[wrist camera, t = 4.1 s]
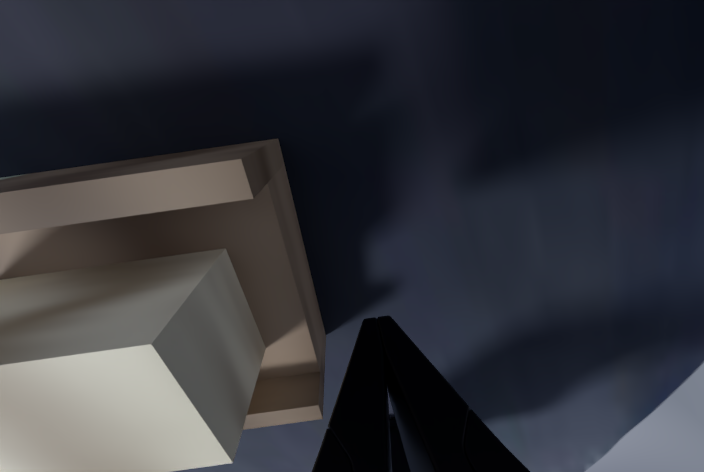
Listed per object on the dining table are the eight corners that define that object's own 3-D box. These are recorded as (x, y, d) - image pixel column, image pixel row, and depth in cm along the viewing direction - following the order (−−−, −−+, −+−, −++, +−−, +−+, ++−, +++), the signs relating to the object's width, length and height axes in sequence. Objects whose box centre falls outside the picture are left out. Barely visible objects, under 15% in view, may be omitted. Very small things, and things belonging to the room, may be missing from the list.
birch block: (225, 248, 9) (151, 343, 5) (265, 348, 11) (232, 463, 7) (-5, 280, 9) (-235, 398, 5) (82, 373, 11) (-38, 499, 8)
